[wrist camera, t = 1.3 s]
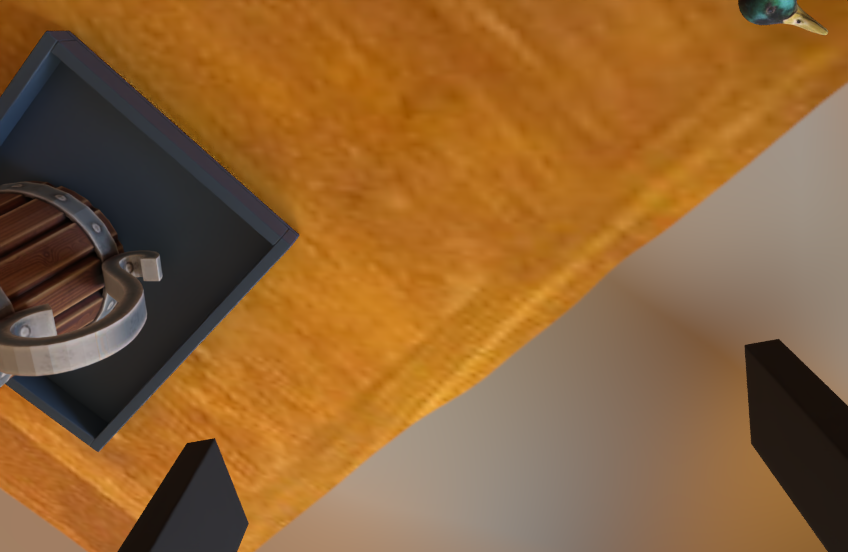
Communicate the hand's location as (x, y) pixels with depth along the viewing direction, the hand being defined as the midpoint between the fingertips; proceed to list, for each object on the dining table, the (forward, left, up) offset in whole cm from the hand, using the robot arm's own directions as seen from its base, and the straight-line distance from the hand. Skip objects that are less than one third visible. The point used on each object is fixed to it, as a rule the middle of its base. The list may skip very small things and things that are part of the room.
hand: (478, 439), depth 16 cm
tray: (-15, -20, -27) cm, 37 cm away
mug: (-15, -20, -27) cm, 37 cm away
